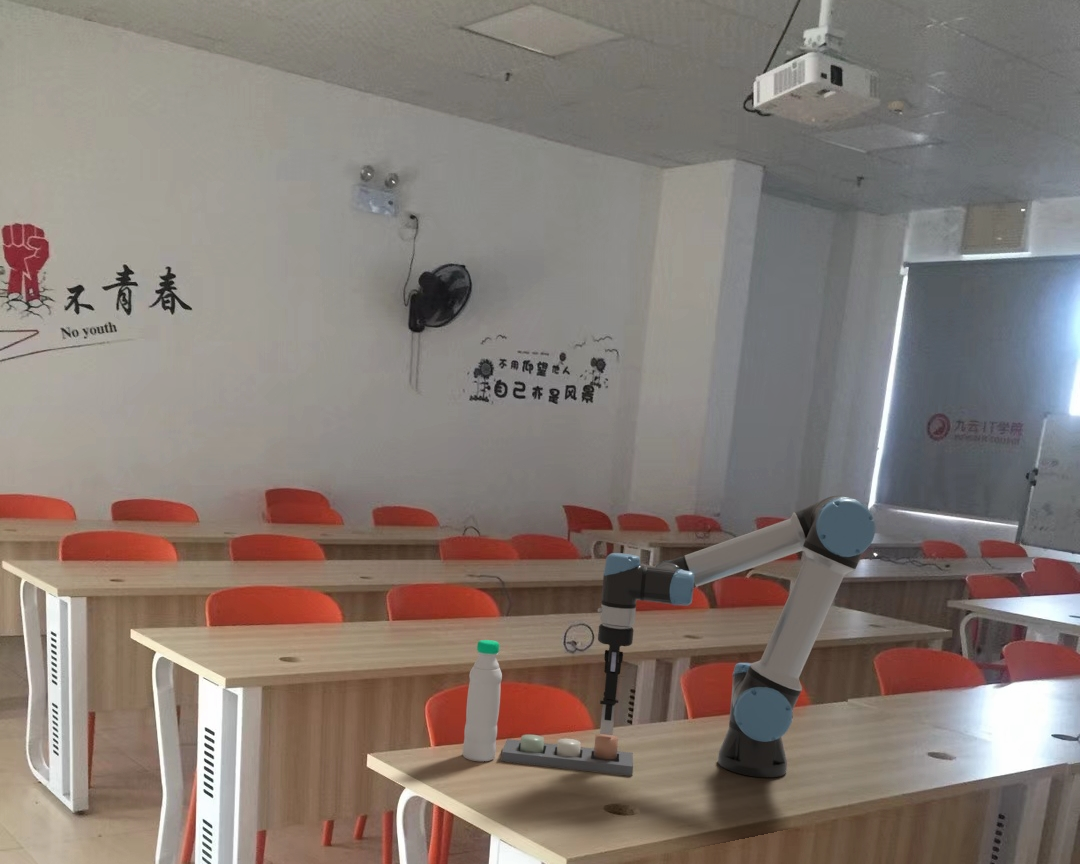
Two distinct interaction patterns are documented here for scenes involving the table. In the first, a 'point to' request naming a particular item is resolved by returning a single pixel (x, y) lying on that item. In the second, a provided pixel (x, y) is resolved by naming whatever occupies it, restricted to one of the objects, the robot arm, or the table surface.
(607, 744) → the button terracotta
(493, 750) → the water bottle
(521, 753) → the panel
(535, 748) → the button sage
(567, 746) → the button ivory
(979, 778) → the table surface
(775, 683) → the robot arm
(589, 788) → the table surface
